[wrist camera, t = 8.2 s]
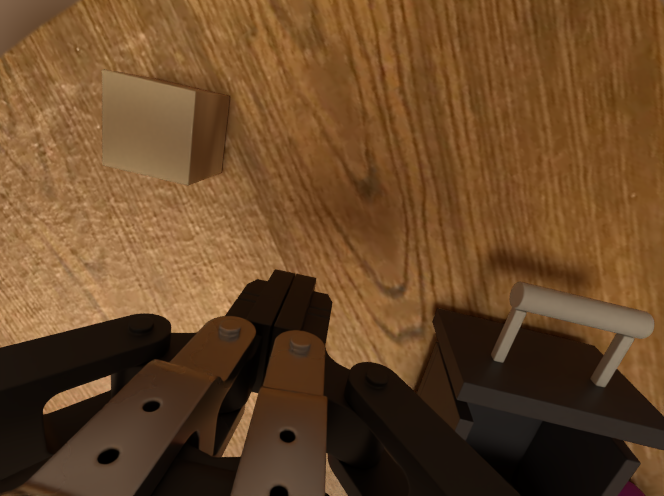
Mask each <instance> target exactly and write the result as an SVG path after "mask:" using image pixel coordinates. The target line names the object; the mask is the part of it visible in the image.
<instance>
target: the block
mask: <svg viewBox="0 0 664 496" xmlns="http://www.w3.org/2000/svg"><path fill="white" fill-rule="evenodd" d="M229 100H230V96H228V95H224V94H219V93H215V92H211V91H207V90H202V89H198V88H194V87H190V86H185V85H181V84H177V83H173V82H168V81H164V80H160V79H156V78H150V77H145V76H139V75H133V74H128V73H122V72H117V71H111V70H105V69H102V164H103V165H104V166H108V167H112V168H116V169H120V170H124V171H129V172H133V173H137V174H141V175H145V176H150V177H154V178H158V179H162V180H166V181H171V182H175V183H179V184H183V185H187V186H188V185H191V184H193V183H196V182H199V181H201V180H204V179H206V178H209V177H212V176H214V175H217V174H220V173H221V172H222V164H223V155H224V146H225V136H226V127H227V118H228V109H229Z"/></svg>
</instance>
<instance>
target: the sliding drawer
mask: <svg viewBox="0 0 664 496" xmlns="http://www.w3.org/2000/svg"><path fill="white" fill-rule="evenodd" d="M510 304H511V306H512V309H511V311H510V313H509V315H508V318H507V320H506V322H505V324H502V323H498V322H493V321H489V320H485V319H481V318H477V317H473V316H469V315H464V314H460V313H456V312H452V311H448V310H444V309H439V308H437V310H436V313H435V316H434V318H433V321H432V322H433V325H434V329H435V332H436V335H437V338H438V341H439V342H436V345H435V347H434V350H433V352H432V355H431V358H430V360H429V363H428V365H427V368H426V371H425V373H424V376H423V379H422V381H421V384H420V386H419V389H418V392H417V395H418V396H419V397H420V398H421V399H422V400H423V401H424V402H425V403H427V404H428V405H429V406H430V407H431V408H432V409H433V410H434V411H435V412H436V413H437V414H438V415H439V416H440V417H441V418H442V419H443V420H444V421H445V422H446V423H447V424H448V425H449V426H450V427H451V428H452V429H453V430H454V431H455V432H456V433H457V434H458V435H460V436H461V437H462V438H463V439H464V440H465V441H466V442H467V443H468V444H469V445H470V446H471V447H472V448H473V449H474V450H475V451H476V452H477V453H478V454H479V455H480V456H481V457H482V458H483V459H484V460H485V461H486V462H487V463H488V464H489V465H490V466H491V467H493V468H494V469H495V470H496V471H497V472H498V473H499V474H500V475H501V476H502V477H503V478H504V479H505V480H506V481H507V482H508V483H509V484H510V485H511V486H512V487H513V488H514V489H515V490H516V491H517V492H518V493H519V494H520V495H521V496H618V495H619V493H620V492H621V490H622V489H623V488H624V486H625V485H626V483H627V482H628V481H629V479H630V478H631V477H632V475H633V474H634V472H635V471H636V470H637V468H638V467H639V465H640V461H639V460H638V459H637V458H636V456H635V455H634V454H633V453H632V451H631V450H630V449H629V448H628V446H627V445H626V444H625V442H624V441H628V442H632V443H636V444H640V445H644V446H648V447H652V448H657V449H661V450H664V416H663V415H662V414H661V413H660V412H659V411H658V410H657V409H656V408H655V407H654V406H653V405H652V404H651V403H650V402H649V401H648V400H647V399H646V398H645V397H644V396H643V395H642V394H641V393H640V392H639V391H638V390H637V389H636V388H635V387H634V386H633V385H632V384H631V383H630V382H629V381H628V380H627V379H626V378H625V377H624V376H623V375H622V374H621V373H620V371H619V370H618V369H617V367H618V365H619V364H620V362H621V361H622V359H623V357H624V356H625V354H626V352H627V351H628V349H629V347H630V346H631V344H632V342H633V341H634V338H633V337H635V338H640V339H642V338H646V337H648V336H649V335H650V334H651V333H652V331H653V329H654V320H653V317H652V316H651V315H650V314H649V313H647V312H645V311H641V310H637V309H632V308H628V307H624V306H620V305H616V304H612V303H607V302H603V301H599V300H595V299H591V298H586V297H582V296H578V295H574V294H570V293H566V292H561V291H557V290H553V289H549V288H545V287H540V286H536V285H532V284H528V283H524V282H517V283H516V284H515V285H514V286H513V288H512V290H511V293H510ZM526 311H527V312H531V313H535V314H539V315H544V316H548V317H552V318H556V319H560V320H564V321H568V322H573V323H577V324H581V325H585V326H589V327H593V328H598V329H602V330H606V331H610V332H614V333H617V334H616V335H615V337H614V339H613V340H612V342H611V344H610V346H609V347H608V349H607V351H606V352H605V354H604V355H603V354H602V353H601V352H600V351H599V350H598V349H597V348H596V347H595V346H593V345H589V344H585V343H581V342H576V341H572V340H568V339H564V338H560V337H556V336H552V335H547V334H543V333H539V332H535V331H531V330H527V329H522V328H520V326H521V324H522V322H523V320H524V318H525V315H526ZM623 440H624V441H623Z"/></svg>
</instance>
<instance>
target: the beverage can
mask: <svg viewBox="0 0 664 496" xmlns="http://www.w3.org/2000/svg"><path fill="white" fill-rule="evenodd" d="M618 496H645V495H644V493H643V492H642V491H641V490H640V489H639V488H638V487H636V486H635V485H634V484H633V483H631V482H629V481H628V482H627V483H626V485H625V486H624V488H623V489H622V490H621V492H620V493H619V495H618Z"/></svg>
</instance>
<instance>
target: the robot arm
mask: <svg viewBox="0 0 664 496" xmlns="http://www.w3.org/2000/svg"><path fill="white" fill-rule="evenodd" d="M315 284H316V278H314V277H309V276H305V275H300V274H296V276H295V273H290V272H286V271H281V270H276V269H275V270H274V272H273V274H272V275H271V277H270V279H269V280H268V281H264V280H259V279H257V280H255V281H253V282H251V283H249V284H247V285H246V287H245V288H244V290H243V291H242V293H241V294H240V295H239V297H238V299H236V301H235V302H234V304H233V305H232V307H231V308H230V309H229V311H228V312H227V314H226V315H225V316H222V317H217V318H214V319H212V320H210V321H208V322H207V323H206V324H205V325H204V326H203V327H202V328H201V329H200V330H199V331H198V332H197V333H171V324H170V322H169V321H168V320H167V319H166V318H164V317H162V316H159V315H155V314H134V315H130V316H126V317H122V318H118V319H114V320H110V321H106V322H102V323H98V324H94V325H90V326H86V327H82V328H78V329H74V330H70V331H66V332H62V333H58V334H54V335H50V336H46V337H42V338H38V339H34V340H30V341H26V342H22V343H18V344H14V345H10V346H6V347H2V348H0V496H329V495H328V494H327V493H325V475H326V453H328V462H329V465H330V467H331V469H332V471H333V473H334V474H335V476H336V477H337V479H338V480H339V482H340V484H341V485H342V487H343V488H344V490H345V491H346V493H347V495H348V496H521V495H520V494H519V493H518V492H517V491H516V490H515V489H514V488H513V487H512V486H511V485H510V484H509V483H508V482H507V481H506V480H505V479H504V478H503V477H502V476H501V475H500V474H499V473H498V472H497V471H496V470H495V469H494V468H493V467H491V466H490V465H489V464H488V463H487V462H486V461H485V460H484V459H483V458H482V457H481V456H480V455H479V454H478V453H477V452H476V451H475V450H474V449H473V448H472V447H471V446H470V445H469V444H468V443H467V442H466V441H465V440H464V439H463V438H462V437H461V436H460V435H458V434H457V433H456V432H455V431H454V430H453V429H452V428H451V427H450V426H449V425H448V424H447V423H446V422H445V421H444V420H443V419H442V418H441V417H440V416H439V415H438V414H437V413H436V412H435V411H434V410H433V409H432V408H431V407H430V406H429V405H428V404H427V403H425V402H424V401H423V400H422V399H421V398H420V397H419V396H418V395H417V394H416V393H415V392H414V391H413V390H412V389H411V388H410V387H409V386H408V385H407V384H406V383H405V382H404V381H403V380H402V379H401V378H400V377H399V376H398V375H397V374H396V373H394V372H393V371H392V370H390V369H389V368H387V367H385V366H383V365H380V364H377V363H372V362H362V363H358V364H356V365H354V366H353V367H352V368H351V369H347V368H345V367H343V366H341V365H339V364H338V363H336V362H335V361H334V360H333V359H331V357H330V356H329V355H328V353H327V351H326V348H325V343H326V338H327V332H328V326H329V320H330V314H331V308H332V301H331V299H330V297H329V295H328V294H324V293H320V292H315V291H314V289H315ZM109 375H111V390H110V391H108V392H105V393H102V394H100V395H97V396H94V397H92V398H89V399H86V400H84V401H81V402H78V403H76V404H73V405H70V406H68V407H65V408H62V409H60V410H57V411H54V412H52V413H49V414H43V408H44V406H45V404H46V403H47V402H48V401H49V400H50V399H51V398H52V397H53V396H55V395H56V394H58V393H61V392H63V391H66V390H69V389H72V388H74V387H77V386H80V385H83V384H86V383H89V382H92V381H95V380H97V379H100V378H103V377H106V376H109ZM251 392H255V393H258V397H257V400H256V404H255V408H254V411H253V415H252V419H251V422H250V426H249V430H248V433H247V437H246V440H245V444H244V448H243V451H242V455H241V457H222V455H223V453H224V451H225V449H226V447H227V445H228V443H229V441H230V439H231V438H232V436H233V434H234V432H235V430H236V428H237V426H238V424H239V422H240V420H241V418H242V416H243V414H244V410H245V404H246V402H247V400H248V398H249V396H250V393H251ZM384 448H385V449H386V450H387V451H388V452H389V454H390V455H391V456H392V457H393V459H394V460H395V461H396V462H397V464H398V465H399V466H400V467H401V469H402V470H403V471H402V470H401V469H400V467H399V466H398V465H397V464H396V462H395V461H394V460H393V459H392V457H391V456H390V455H389V454H388V453H387V451H386V450H385V449H384Z"/></svg>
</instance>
